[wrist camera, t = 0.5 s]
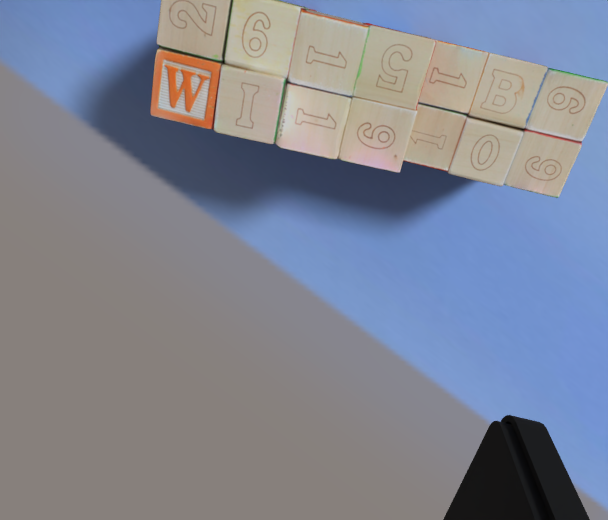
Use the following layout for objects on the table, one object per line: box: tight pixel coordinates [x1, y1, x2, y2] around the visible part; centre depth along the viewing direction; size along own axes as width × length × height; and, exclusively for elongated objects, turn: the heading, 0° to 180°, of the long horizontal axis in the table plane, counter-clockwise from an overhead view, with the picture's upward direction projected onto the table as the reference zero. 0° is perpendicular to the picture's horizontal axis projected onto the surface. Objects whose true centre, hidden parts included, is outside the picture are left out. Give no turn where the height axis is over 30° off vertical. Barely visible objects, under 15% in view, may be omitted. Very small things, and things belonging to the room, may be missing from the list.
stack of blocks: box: [151, 0, 608, 198], centre depth 30 cm, size 21×6×12 cm, turn 77°
